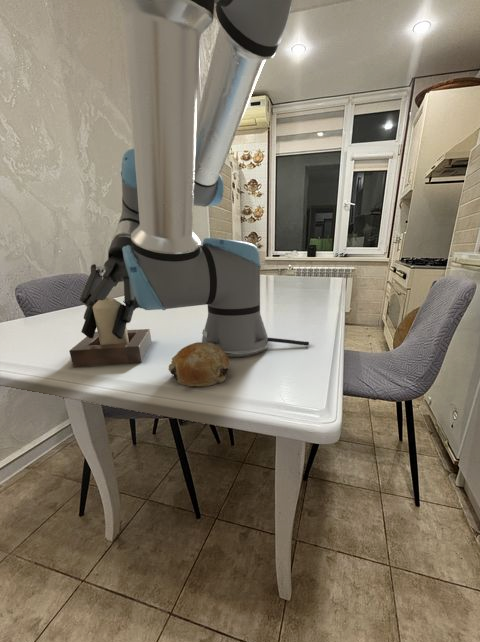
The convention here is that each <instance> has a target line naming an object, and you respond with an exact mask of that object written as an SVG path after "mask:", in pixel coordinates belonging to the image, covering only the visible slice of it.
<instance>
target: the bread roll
mask: <svg viewBox="0 0 480 642" xmlns="http://www.w3.org/2000/svg"><path fill="white" fill-rule="evenodd" d="M170 362H171V363H170V364H168V371H169V372H170V374H171V375H172V379H174V380H175V381H176V382H178V383H179V384H180V385H183V386H186V387H188V388H193V387H209V386H213V385H216V384H218V383H223V382H224V381H225V380H226V379H227V376H228V373H229V371H230V360H229V357H227V355H226V354H225V352H224V351H223V350H222V349H221V348H219V347H217V346H215V345H214V344H213V343H204V342H202V341H201V342H200V341H199V342H193V343H191V344H188V345H186V346H184V347H182V348H181V349H180V350H179V351H177V353H176V354H175V355H174V356H173V357H172V358H171V361H170Z"/></svg>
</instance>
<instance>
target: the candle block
mask: <svg viewBox="0 0 480 642" xmlns="http://www.w3.org/2000/svg"><path fill="white" fill-rule="evenodd" d="M127 334H128V340H129V343H124V344H107V345H100V341H99V336H98V331H95V333H94V336H93V338H89V337H87V336H85V337H84V338H83V339H82V340H80V341H79V342H78V343H77V344H75V345H74V346H73V347H72V348H71V349H69V351H68V352H69V355H70V360H71V363H72V368H84V367H96V366H97V367H99V366H113V365H114V366H115V365H127V364H140V363H142V362H143V360H144V358H145V357H146V354H147V352H148V351H149V349H150V347H151V345H152V343H153V341H152V336H151V329H150V328H143V329H141V328H140V329H127Z"/></svg>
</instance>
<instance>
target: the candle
mask: <svg viewBox="0 0 480 642" xmlns="http://www.w3.org/2000/svg"><path fill="white" fill-rule="evenodd" d="M120 304H122V302H120V301H118V300H117V299H115V298H113V297H112V296H111V297H106V298H105V299H104V300H98V301H97V302H96V303H95V304H94V306H93V312H94V317H95V322H96V326H97V327H96V332H98V336H99V341H100V345H107V344H124V343H129V340H128V334H127V330H128V329H127V326H126V327H125V331H124V334H123V338H122V339H118V338H117V337H116V336H115V335H114V334H113V333H112V330H113V327H114V323H115V320H116V317H117V313H118V310H119V307H120Z"/></svg>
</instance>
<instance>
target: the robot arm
mask: <svg viewBox="0 0 480 642" xmlns="http://www.w3.org/2000/svg"><path fill="white" fill-rule="evenodd" d="M116 2H117V4H119V6H120V8H121V11H122V13H123V15H124V30H125V43H126V56H127V57H126V59H127V70H128V83H129V84H128V85H129V96H130V111H131V123H132V137H133V138H132V139H133V148H130V149H128V150H126V151H125V152H124V153H123V156H122V158H121V159H122V161H121V171H120V177H121V193H122V197H121V215H120V217H119V220H118V224H117V226H116V228H115V231H114V234H113V236H112V240H111V243H110V246H109V249H108V253H107V260H106V261H105V262H104V263H103V264H102V265H98V266H97V264H96V263H94V264H91V266H90V273H89V276H88V278H87V280H86V283H85V286H84V288H83V290H82V292H81V295H80V297H79V301H80V302H81V303H82V305H84V306H85V307H86V309H85V312H84V313H83V320H84V323H83V325H82V329H81V331H80V332H81V333H82V334H83V335H85V337H89V338H93V336H94V333H95V332H96V331H97V326H96V322H95V317H94V312H93V306H94V304H95V303H96V302H97V301H98V300H104V299H105V298H108V296H109V294H110V293H111V291H112V290H113V288H114V287H117V285H118V284H119V283H121V282H123V295H124V299H123V300H122V303H121V304H120V307H119V310H118V313H117V317H116V320H115V323H114V327H113V330H112V333H113V334H114V335H115V336H116V337H117V338H118V339H122V338H123V334H124V331H125V327H126V328H127V324H130V323H131V321H132V319H133V315H134V311H135V310H136V309H143V310H145V311H158V310H162V311H166V310H170V309H179V308H187V307H188V308H189V307H197V306H205V305H206V306H207V318H206V321H205V325H204V328H203V329H202V331H201V332H202V333H201V334H202V337H201V342H204V343H213V344H214V345H215V346H217V347H219V348H221V349H222V350H223V351H224V352H225V354H226V355H227V357H228V358H244V357H250V356H254V355H258V354H260V353H262V352H264V351H266V350H267V349H268V347H269V342H270V343H279V344H280V343H281V344H291V345H298V346H309V345H310V341H302V340H295V339H287V338H279V337H278V338H277V337H268V333H267V330H266V327H265V324H264V321H263V318H262V315H261V269H262V265H261V258H260V257H261V255H260V250H259V248H258V246H256V245H255V244H254V243H250V242H245V241H239V240H234V239H224V238H217V237H216V238H215V237H213V238H212V237H205V238H203V240H202V243H201V240H200V238H199V237H198V235H197V234H196V233H195V232H194V231H193V229H194V227H193V225H194V206H195V207H203V208H205V207H217V206H219V205H220V204H221V203H222V201H223V198H224V196H223V195H224V191H225V186H224V180H223V176H222V175H221V173H222V171H223V168H224V165H225V163H226V160H227V159H228V155H229V152H230V150H231V148H232V146H233V143H234V141H235V137H236V135H237V133H238V130H239V128H240V125H241V123H242V120H243V118H244V115H245V113H246V110H247V107H248V105H249V103H250V101H251V97H252V94H253V92H254V90H255V87H256V84H257V81H258V79H259V77H260V74H261V72H262V69H263V67H264V64H265V62H266V61H267V60H271V59H272V58H274V56H275V55H276V53H277V51H278V49H279V46H280V45H281V41H282V39H283V37H284V34H285V31H286V28H287V24H288V21H289V17H290V13H291V9H292V2H293V0H116ZM215 5H216V6H215ZM214 14H215V17H214ZM214 18H215V19H216V22H217V25H218V30H217V34H216V38H215V42H214V47H213V51H212V55H211V59H210V62H209V67H208V70H207V75H206V79H205V83H204V87H203V91H202V96H201V100H200V103H199V108H198V94H199V93H198V91H199V71H200V69H199V68H200V67H199V65H200V43H201V41H200V40H201V36H202V34H204V32H206V30H207V29H208V28H209V27H210V26H211V25H212V24H213V23H214ZM201 244H202V245H201ZM123 303H124V304H123Z"/></svg>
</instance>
